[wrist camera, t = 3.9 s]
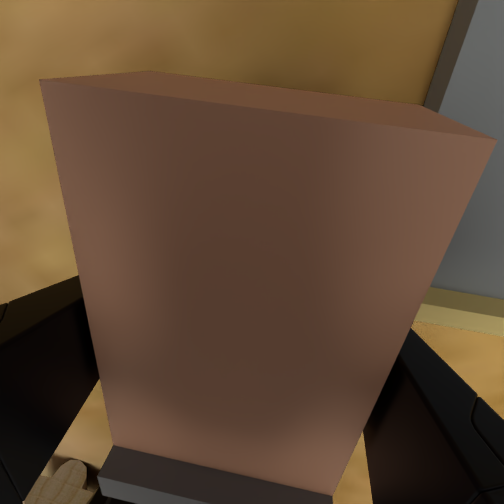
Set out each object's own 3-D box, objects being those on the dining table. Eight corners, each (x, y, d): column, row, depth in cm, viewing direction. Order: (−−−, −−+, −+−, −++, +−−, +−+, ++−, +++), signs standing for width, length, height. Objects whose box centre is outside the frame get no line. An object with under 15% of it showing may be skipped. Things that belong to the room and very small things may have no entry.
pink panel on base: (321, 381, 13) (324, 550, 8) (172, 351, 13) (102, 494, 9) (409, 100, 8) (534, 156, 3) (163, 69, 8) (-9, 83, 4)
